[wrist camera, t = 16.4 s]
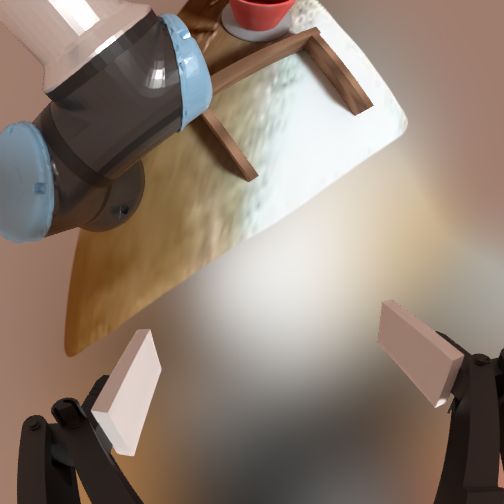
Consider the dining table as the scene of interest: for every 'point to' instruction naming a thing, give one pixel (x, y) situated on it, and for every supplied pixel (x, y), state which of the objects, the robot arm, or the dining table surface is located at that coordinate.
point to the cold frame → (269, 55)
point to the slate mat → (254, 36)
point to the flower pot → (260, 13)
